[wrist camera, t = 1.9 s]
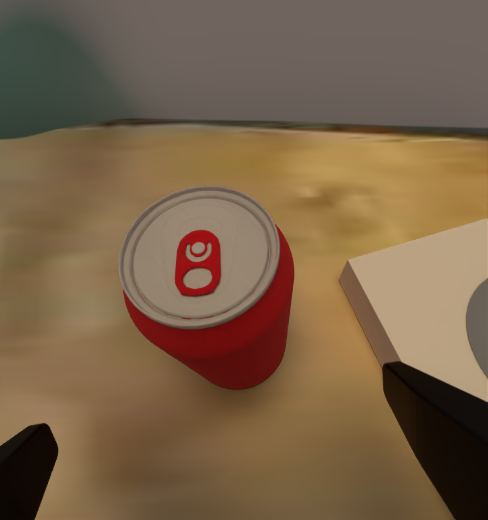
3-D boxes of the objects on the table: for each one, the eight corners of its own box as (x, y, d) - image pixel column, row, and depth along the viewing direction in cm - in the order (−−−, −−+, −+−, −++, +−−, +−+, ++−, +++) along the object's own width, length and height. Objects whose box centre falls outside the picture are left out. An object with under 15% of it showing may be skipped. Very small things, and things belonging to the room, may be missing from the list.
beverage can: (280, 293, 21) (286, 165, 11) (291, 387, 18) (314, 337, 8) (193, 300, 22) (117, 182, 11) (190, 393, 19) (81, 353, 8)
